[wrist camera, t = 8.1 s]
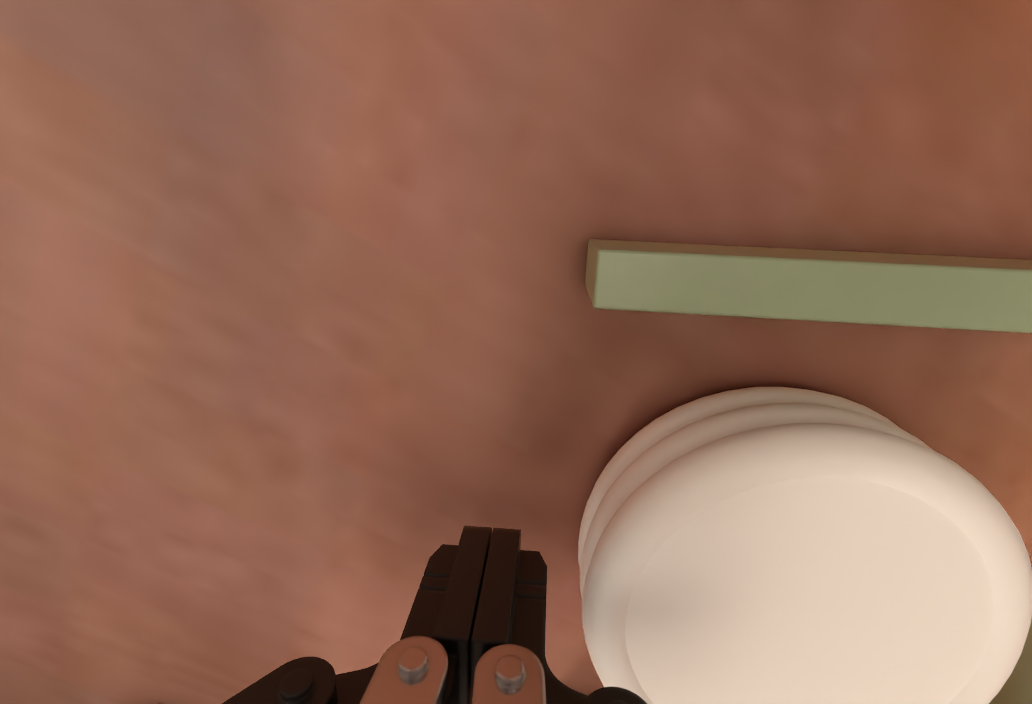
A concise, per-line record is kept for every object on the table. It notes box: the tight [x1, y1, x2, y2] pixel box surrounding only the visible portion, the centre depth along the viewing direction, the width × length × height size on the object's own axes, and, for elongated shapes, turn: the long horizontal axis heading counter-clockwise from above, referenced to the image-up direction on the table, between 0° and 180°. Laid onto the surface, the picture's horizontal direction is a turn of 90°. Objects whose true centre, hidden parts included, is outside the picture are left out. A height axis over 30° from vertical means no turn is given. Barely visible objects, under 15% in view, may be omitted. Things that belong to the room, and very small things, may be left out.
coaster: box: [578, 387, 1032, 704], centre depth 13 cm, size 10×10×4 cm
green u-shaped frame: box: [585, 239, 1032, 704], centre depth 13 cm, size 16×15×3 cm
